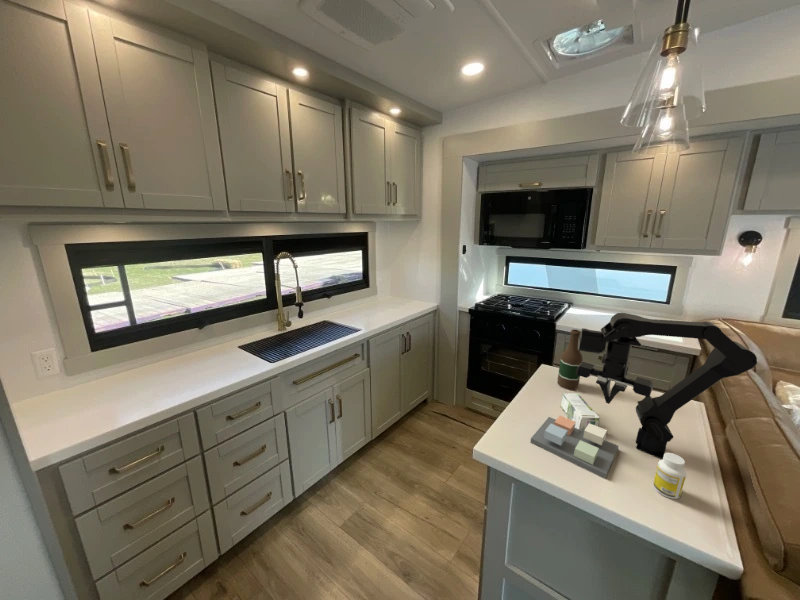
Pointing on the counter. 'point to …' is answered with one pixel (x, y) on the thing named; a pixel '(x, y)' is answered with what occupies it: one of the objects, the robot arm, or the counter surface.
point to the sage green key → (586, 452)
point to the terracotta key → (565, 424)
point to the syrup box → (578, 411)
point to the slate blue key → (555, 434)
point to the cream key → (595, 434)
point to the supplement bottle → (670, 476)
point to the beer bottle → (570, 363)
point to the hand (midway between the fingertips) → (607, 402)
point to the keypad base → (569, 445)
